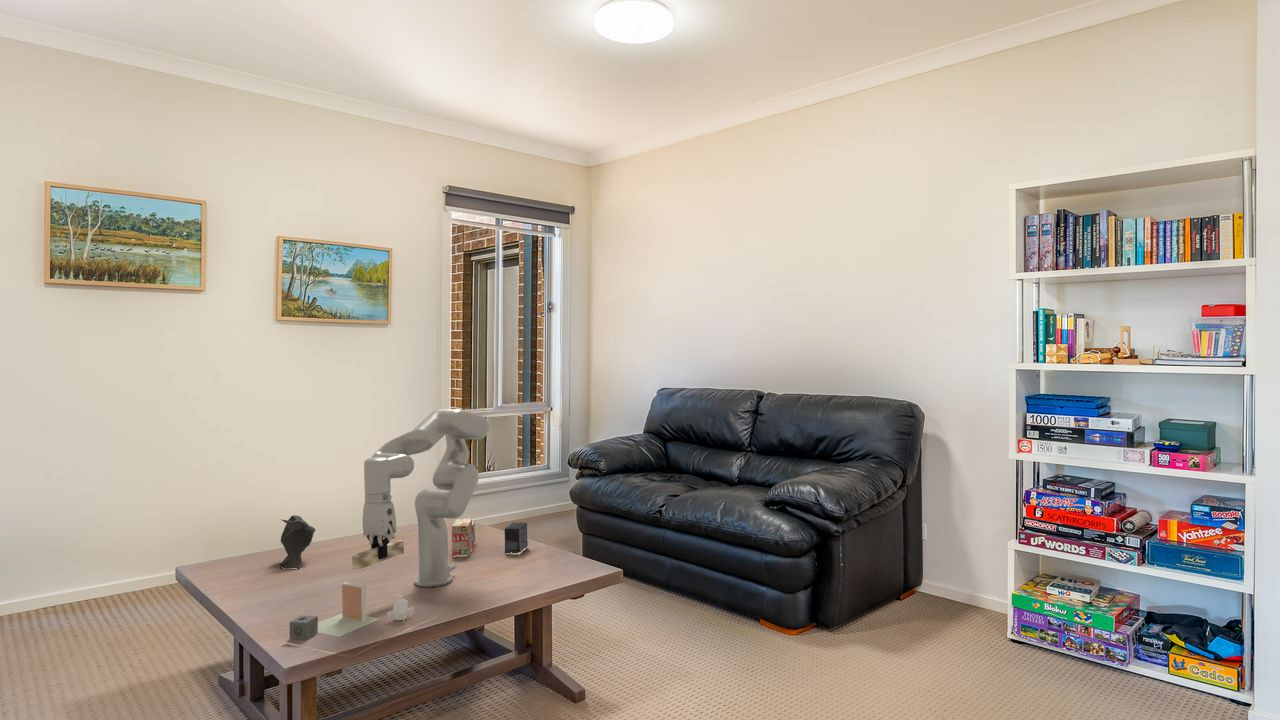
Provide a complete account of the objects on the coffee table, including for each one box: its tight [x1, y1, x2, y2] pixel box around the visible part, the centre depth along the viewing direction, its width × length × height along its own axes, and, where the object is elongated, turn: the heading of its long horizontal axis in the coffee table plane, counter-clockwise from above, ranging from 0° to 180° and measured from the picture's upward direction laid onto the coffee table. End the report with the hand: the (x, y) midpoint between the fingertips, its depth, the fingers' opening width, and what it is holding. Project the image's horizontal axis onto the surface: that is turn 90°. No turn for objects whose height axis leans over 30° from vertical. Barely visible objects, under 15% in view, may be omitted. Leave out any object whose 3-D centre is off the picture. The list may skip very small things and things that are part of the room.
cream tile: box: [341, 581, 367, 622], centre depth 209 cm, size 2×8×10 cm, turn 65°
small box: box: [504, 522, 529, 554], centre depth 284 cm, size 11×6×10 cm, turn 172°
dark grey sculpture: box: [279, 514, 316, 570], centre depth 271 cm, size 14×15×18 cm
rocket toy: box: [386, 593, 414, 623], centre depth 208 cm, size 5×5×8 cm
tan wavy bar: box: [351, 539, 405, 571], centre depth 222 cm, size 18×2×4 cm, turn 153°
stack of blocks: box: [451, 518, 476, 557], centre depth 287 cm, size 21×6×12 cm, turn 6°
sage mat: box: [317, 612, 380, 638], centre depth 205 cm, size 15×14×1 cm
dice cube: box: [289, 615, 319, 640], centre depth 197 cm, size 5×5×5 cm
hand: (379, 557), depth 222 cm, fingers closed on tan wavy bar, 2 cm apart
